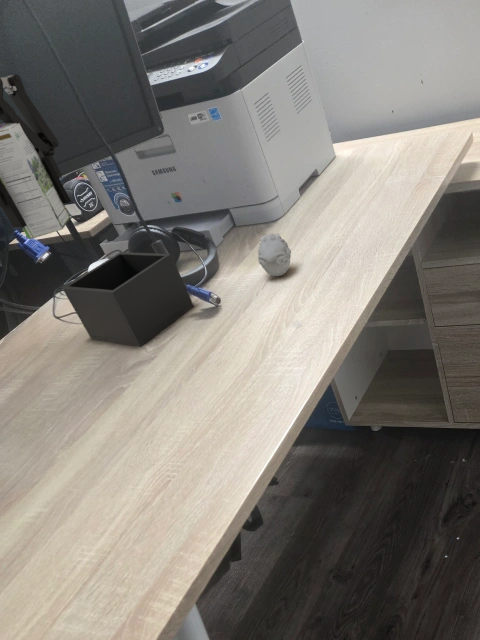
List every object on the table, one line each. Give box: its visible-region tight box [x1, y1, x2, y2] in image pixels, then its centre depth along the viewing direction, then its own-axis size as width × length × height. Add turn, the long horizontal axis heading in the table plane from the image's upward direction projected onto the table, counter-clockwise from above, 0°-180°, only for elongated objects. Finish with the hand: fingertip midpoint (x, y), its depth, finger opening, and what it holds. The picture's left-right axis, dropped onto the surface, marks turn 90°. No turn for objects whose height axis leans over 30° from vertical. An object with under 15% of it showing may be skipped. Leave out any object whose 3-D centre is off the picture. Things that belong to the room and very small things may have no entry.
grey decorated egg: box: [257, 233, 292, 277], centre depth 117 cm, size 6×7×7 cm
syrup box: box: [0, 122, 71, 240], centre depth 97 cm, size 6×6×14 cm
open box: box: [62, 251, 195, 348], centre depth 113 cm, size 14×14×10 cm
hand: (42, 214), depth 101 cm, fingers closed on syrup box, 8 cm apart
